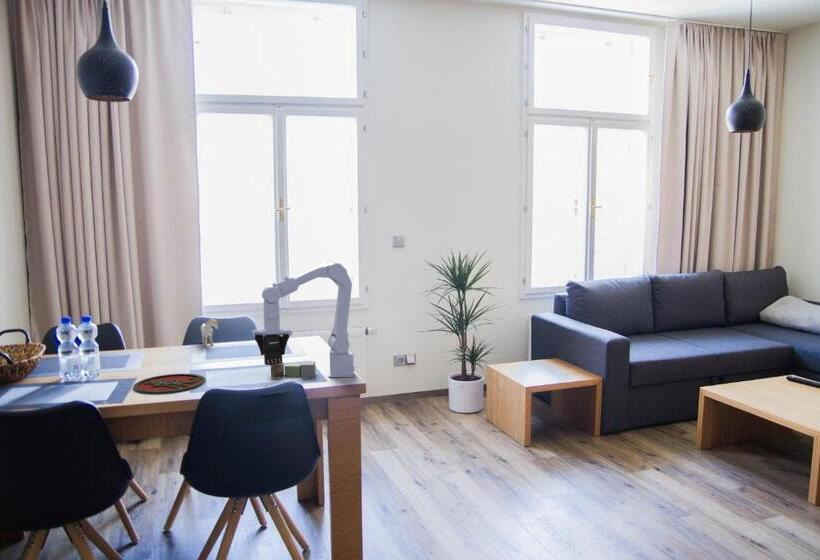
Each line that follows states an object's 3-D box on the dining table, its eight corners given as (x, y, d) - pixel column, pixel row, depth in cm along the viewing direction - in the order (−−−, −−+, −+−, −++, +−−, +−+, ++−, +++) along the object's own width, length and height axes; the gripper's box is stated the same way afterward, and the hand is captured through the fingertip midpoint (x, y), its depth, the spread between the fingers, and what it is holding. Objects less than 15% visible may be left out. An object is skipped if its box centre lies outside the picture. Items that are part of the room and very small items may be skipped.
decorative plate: (186, 392, 216) (119, 391, 219) (186, 396, 216) (119, 394, 219) (216, 374, 241) (155, 372, 243) (216, 377, 241) (156, 375, 244)
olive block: (302, 373, 244) (302, 363, 244) (299, 376, 240) (299, 366, 240) (287, 373, 245) (287, 363, 244) (284, 376, 241) (284, 366, 240)
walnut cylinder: (284, 374, 243) (284, 361, 242) (282, 377, 238) (282, 365, 237) (272, 374, 243) (271, 362, 242) (269, 378, 238) (269, 365, 237)
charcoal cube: (315, 374, 243) (315, 361, 243) (314, 377, 238) (313, 364, 238) (302, 374, 243) (302, 361, 243) (301, 377, 238) (300, 364, 238)
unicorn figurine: (212, 349, 289) (211, 321, 288) (192, 343, 303) (191, 316, 301) (226, 346, 294) (225, 319, 293) (206, 341, 308) (205, 314, 306)
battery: (265, 366, 228) (264, 336, 227) (263, 364, 232) (261, 334, 231) (284, 364, 231) (282, 334, 230) (282, 362, 235) (280, 332, 234)
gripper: (293, 316, 234) (294, 351, 235) (254, 317, 233) (255, 352, 235) (290, 319, 227) (291, 356, 228) (250, 320, 226) (251, 356, 228)
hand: (273, 354), depth 231 cm, fingers closed on battery, 7 cm apart
